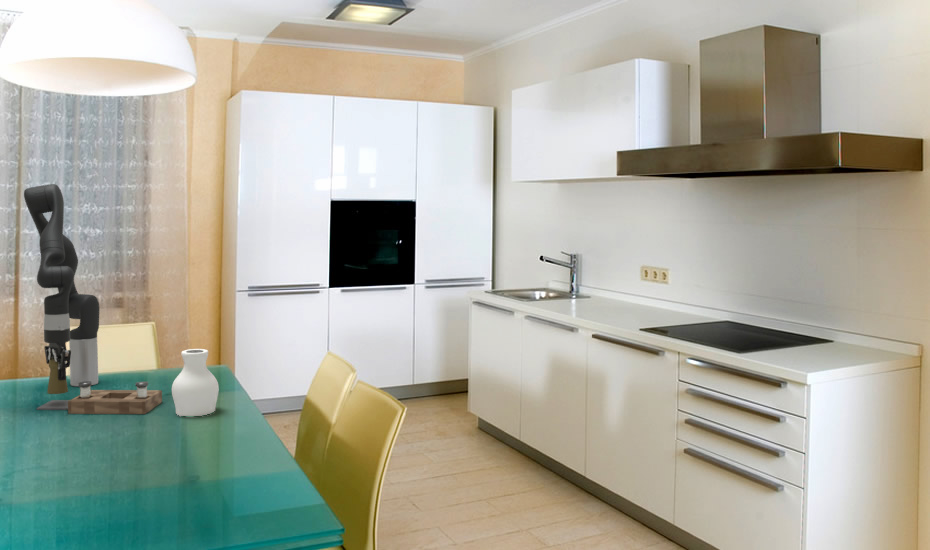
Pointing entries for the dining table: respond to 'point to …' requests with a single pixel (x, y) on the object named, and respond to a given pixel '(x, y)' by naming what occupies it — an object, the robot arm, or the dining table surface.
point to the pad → (55, 405)
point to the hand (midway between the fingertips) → (58, 378)
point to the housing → (115, 402)
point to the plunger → (85, 389)
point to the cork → (56, 380)
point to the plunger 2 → (141, 390)
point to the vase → (195, 385)
